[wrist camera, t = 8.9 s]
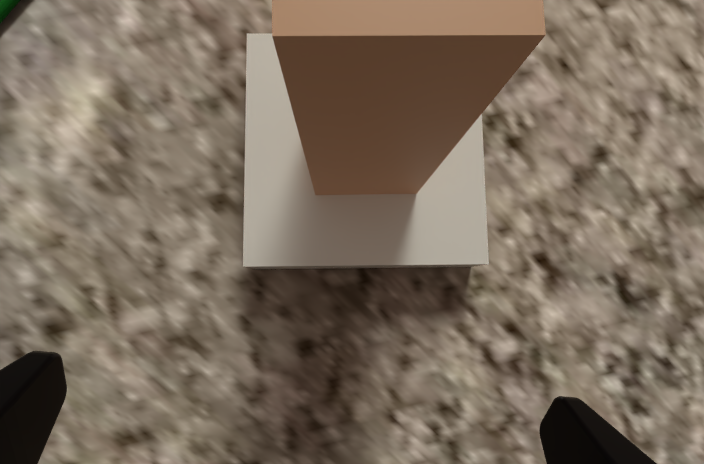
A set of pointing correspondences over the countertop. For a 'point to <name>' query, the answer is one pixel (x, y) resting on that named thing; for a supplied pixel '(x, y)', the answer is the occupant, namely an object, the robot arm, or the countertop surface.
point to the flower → (6, 7)
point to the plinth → (348, 196)
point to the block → (394, 81)
